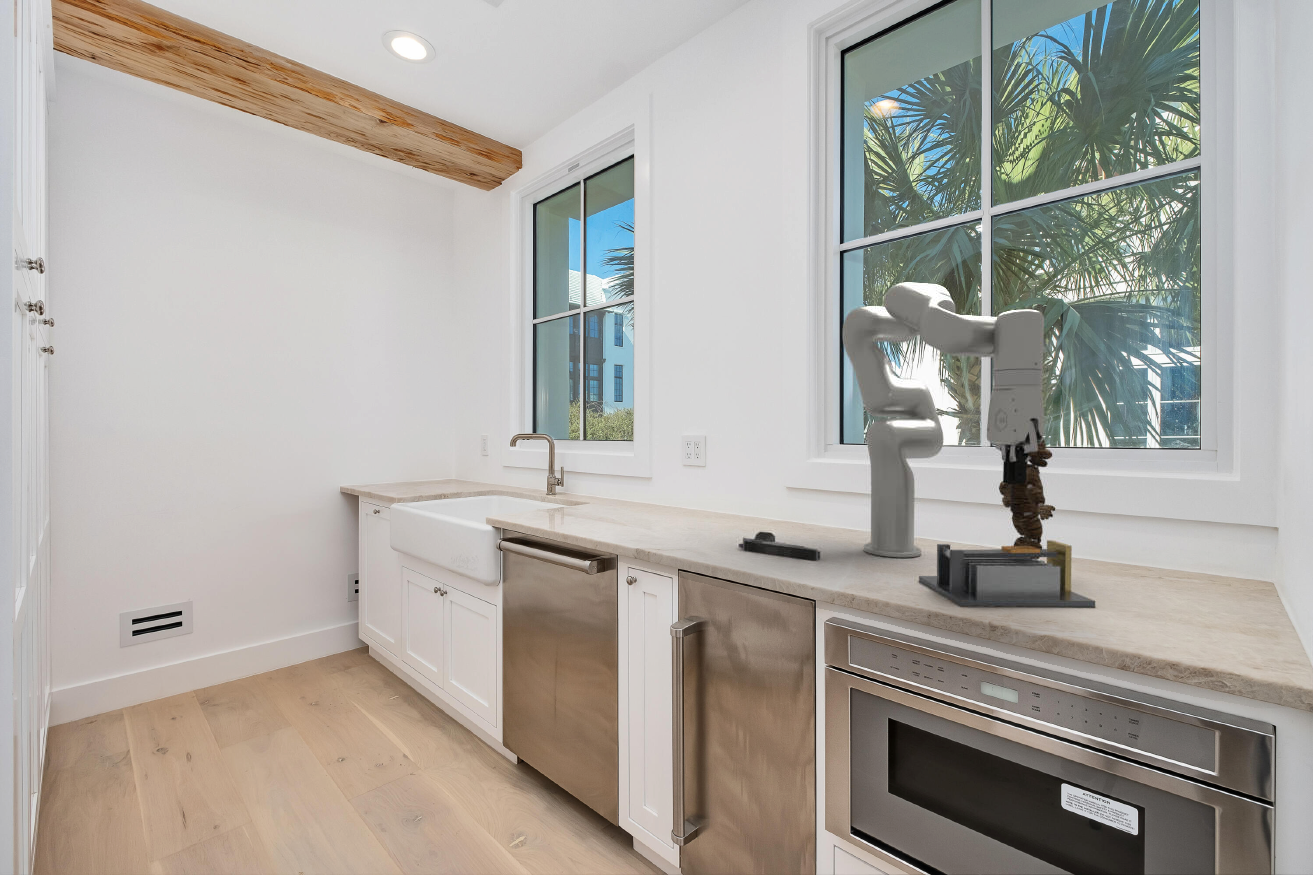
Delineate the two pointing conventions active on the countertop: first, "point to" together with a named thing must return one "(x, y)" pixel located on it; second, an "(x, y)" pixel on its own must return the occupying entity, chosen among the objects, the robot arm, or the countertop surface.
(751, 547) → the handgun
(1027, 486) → the toy
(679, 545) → the countertop surface
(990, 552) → the dark grey lever
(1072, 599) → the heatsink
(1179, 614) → the countertop surface
